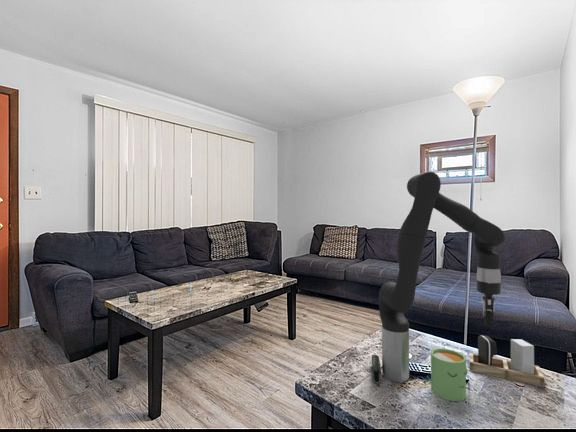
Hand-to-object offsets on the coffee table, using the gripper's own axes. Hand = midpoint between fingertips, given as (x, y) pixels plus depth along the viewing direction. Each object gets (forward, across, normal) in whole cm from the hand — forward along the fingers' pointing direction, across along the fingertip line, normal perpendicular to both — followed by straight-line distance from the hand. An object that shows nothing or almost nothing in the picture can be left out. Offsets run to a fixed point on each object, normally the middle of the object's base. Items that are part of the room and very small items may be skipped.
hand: (488, 323), depth 114 cm
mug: (+18, +23, -11) cm, 31 cm away
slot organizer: (+17, 0, +5) cm, 18 cm away
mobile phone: (+18, +26, -35) cm, 47 cm away
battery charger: (+17, -1, 0) cm, 17 cm away
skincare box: (+17, 0, +10) cm, 20 cm away
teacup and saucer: (+18, +1, -29) cm, 34 cm away
